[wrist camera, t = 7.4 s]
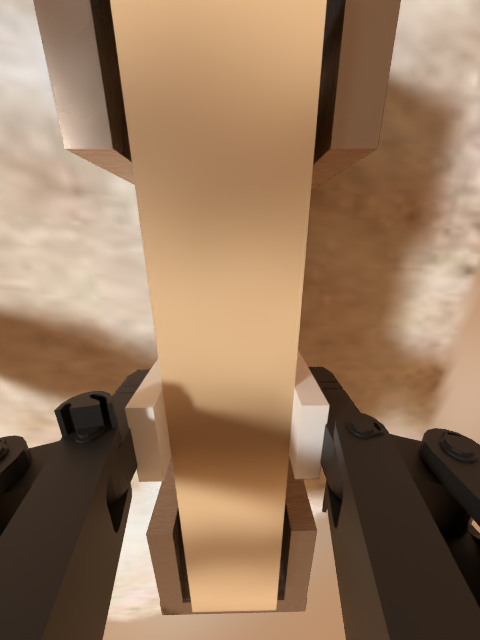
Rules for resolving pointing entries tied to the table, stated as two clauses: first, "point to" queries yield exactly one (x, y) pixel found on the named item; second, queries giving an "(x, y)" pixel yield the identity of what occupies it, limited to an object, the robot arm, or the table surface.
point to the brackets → (114, 156)
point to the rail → (225, 260)
